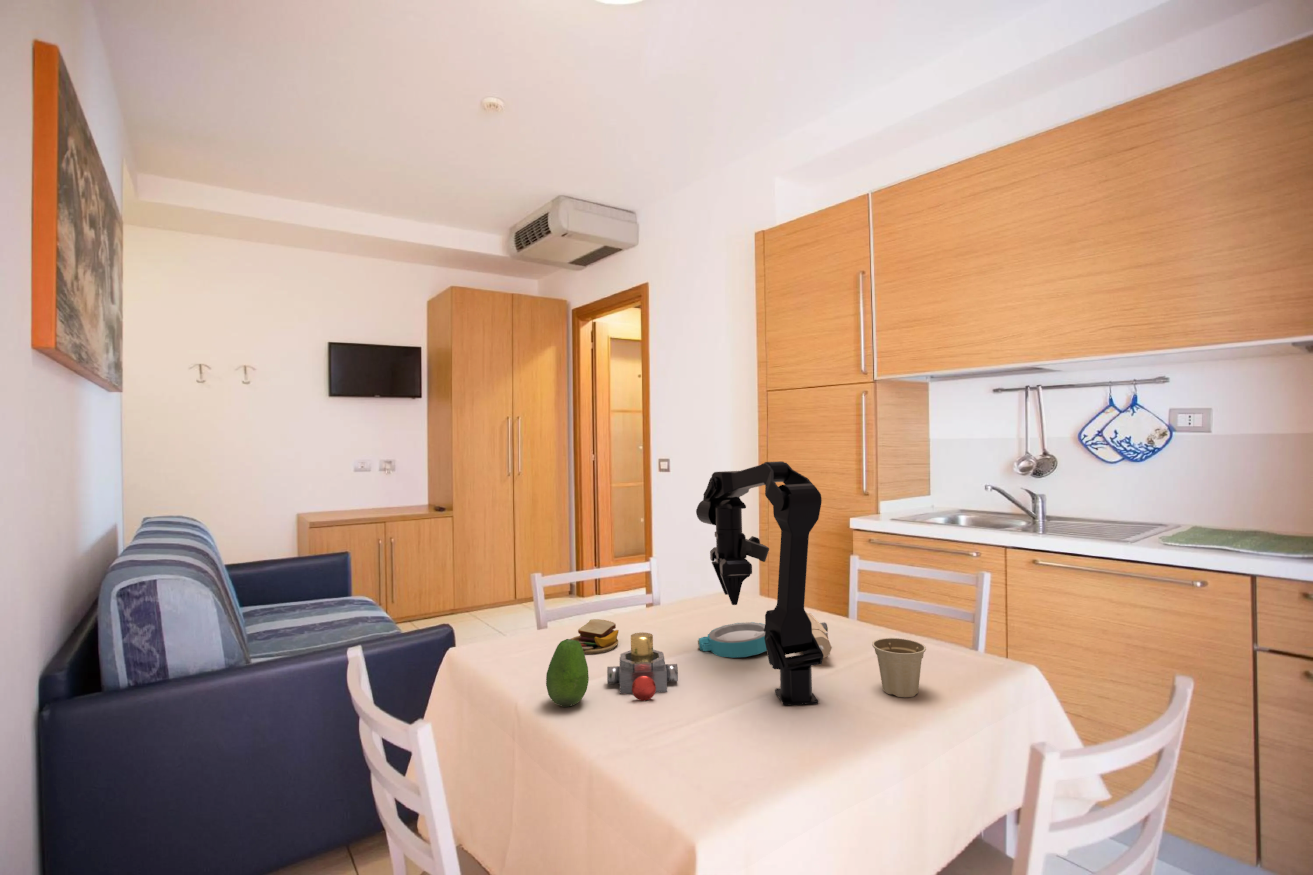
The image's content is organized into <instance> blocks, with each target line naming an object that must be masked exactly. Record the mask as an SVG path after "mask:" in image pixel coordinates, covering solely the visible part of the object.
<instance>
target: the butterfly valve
mask: <svg viewBox="0 0 1313 875" xmlns="http://www.w3.org/2000/svg"><path fill="white" fill-rule="evenodd" d="M805 612H806V613H807V615H808V617H809V619H810V621H811V623H812V634H813V636H814V637H815V639H816V641H817V643H818V645H819V647H820V649H821V651H822V653H823V655H824V656H823V659H825V658H827V657H828V656H829V655H831V651H832V645H831V642H830V640H829V632H828V631H829V627H828V624H827V622H825V621H824V622H820V621H818V620H817V619H816V618H815V616H814V615H813V614H812V613H811V612H807V611H805ZM764 628H765V623H762V622H753V621H751V622H747V621H746V622H736V623H735V622H734V623H730V624H724V625H722V626H719V627H716V628H714V629H712V630H711V631H710V632H709V633H708V634H707V636H701V637H698V640H697V645H698V646H697V647H698V649H699V651H701V652H702V651H703V652H711V653H713V654H714V655H716V656H717V657H722V658H724V657H725V658H747V657H751V656H756V655H759V654H762V653H764V652H767V649H766V644H765V639H764V638H765V632H764Z"/></svg>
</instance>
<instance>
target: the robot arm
mask: <svg viewBox="0 0 1313 875" xmlns="http://www.w3.org/2000/svg"><path fill="white" fill-rule="evenodd" d="M709 478H710V479H709V481H708V484H707V486H706V489H705V491H704V493H703V498H702V500H701V501H699V503H698V505H697V507H696V510H695V512H696V516H697V519H698V520H699V521H700V522H701V523H704V524H707V525H711V526H712V525H713V526H715V531H714V537H715V539H716V540H715V542H716V543H715V545H716V546H715V547H712V549H711V550H710V551H709V554H710V555H709V556H710V557H709V558H710V561H711V564H712V567H713V569H714V572H715V574H716V576H717V579H718V581H719V584H720V586H721V588H722V591H723V594H724V595H727V596H728V598H729V600H730V603H731V605H732V606H737V605H738V601H739V600H740V599H739V598H740V594H741V589H742V587H743V586H742V585H743V582H744V581H745V580H746V579H748V578H749V577H750V576H751V575H753V565H752V563H751V562H750V561H749V560H748V559H747V557H751V558H754V559H757V560H759V561H760V562H762V563H765V562H766V561H767V557H768V554H769V551H770V547H768V546H766V545H765V544H762V543H761V540H760V538H759V537H756V536H753V535H752V536H750V537H749V538H746V535H745V533H744V532H743V518H742V517H743V514H742V512H743V509H746V508H747V505H746V504H745V503H744V502H743V500H742V499H741V497H743V496H745V495H746V494H747V493H749V492H750V489H753V488H757V487H762V486H765V487H764V488H765V490H764V491H765V492H764V495H765V497H766V498H767V500H768V501H769V503H770V504H771V505H772V508H773V509H772V510H773V511H772V513H773V518H774V520H775V521H776V523H777V525H778V528H779V529H780V548H779V566H778V580H777V600H776V605H775V607H774V608H773V609H769V610H766V612H765V615H764V619H765V622H764V624H765V628H764V632H765V638H764V639H765V644H766V649H767V651H766V653H767V658H768V662H769V663H768V664H769V665H771V667H772V670H778V671H779V681H780V682H779V683H780V686H779V688H775V689H774V692H775V694H776V695H777V697H778V699H779V701H780V702H781V703H782V705H783V706H794V705H797V706H798V705H816V704H819V699H818V698H817V697H816V695H815V694H814V692H813V679H812V678H813V676H812V674H813V673H812V672H813V671H812V666H817V665H819V666H820V665H822V664H823V659H824V658H823V656H824V655H823V653H822V651H821V649H820V647H819V645H818V643H817V641H816V639H815V637H814V636H813V634H812V623H811V621H810V619H809V617H808V615H807V613H808V612H807V611H806V609H805V603H806V602H805V599H806V598H805V597H806V596H805V595H806V582H807V571H808V570H807V567H808V553H809V551H808V550H809V539H810V538H809V536H810V533H811V531H812V530H813V528H814V527H815V525H816V524H817V523H818V521H819V517H820V515H821V514H820V512H821V508H822V502H823V500H822V499H823V498H822V494H821V492H820V491H819V489H818V488H817V487H816V485H814V483H813V482H812V481H811V480H810V479H809V477H806V476H804V475H802V474H801V473H799V472H798V471H796V470H794V469H793V468H792V466H790V464H789V463H787V462H784V461H783V460H782V461H765V462H764V463H761V464H758V465H755V466H752V467H749V468H745V469H741V470H729V471H728V470H727V471H726V470H724V471H714V472H712V474H711V477H709ZM777 483H783V484H781V485H779V486H778V485H777ZM806 612H807V613H806ZM797 653H801V654H797ZM791 654H796V655H791ZM786 655H791V656H786Z"/></svg>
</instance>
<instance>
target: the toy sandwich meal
mask: <svg viewBox="0 0 1313 875" xmlns="http://www.w3.org/2000/svg"><path fill="white" fill-rule="evenodd" d="M616 626H617V625H616V623H615V622H614V621H611V620H606V619H598V618H597V619H594V618H593V619H590V620H589V621H588V622H586V624H584V625H583V626H581V627H580V628H578V630H577V632H578V634H579V635H578V636H574V637H572V638H570V639H573V640H576V641H579V642H580V644H581V646H582V648H583V651H584V655H593V654H594V655H596V654H601V653H602V654H603V653H606V652H609V651H612V650H614V648H615V647H616V646H617V645H618V644H619V639H618V635H619V629H616V628H617V627H616Z"/></svg>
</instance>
